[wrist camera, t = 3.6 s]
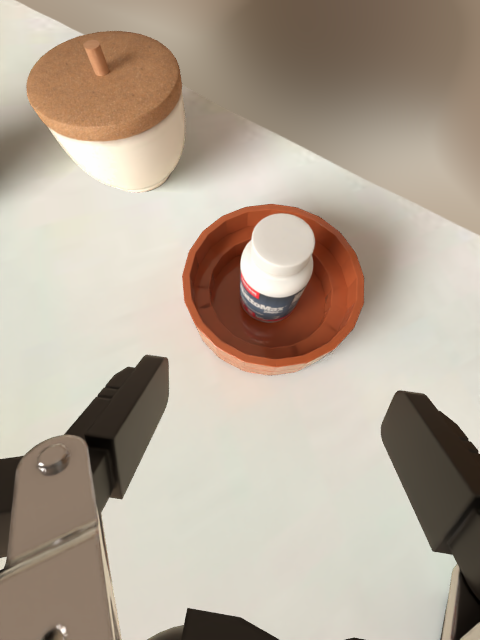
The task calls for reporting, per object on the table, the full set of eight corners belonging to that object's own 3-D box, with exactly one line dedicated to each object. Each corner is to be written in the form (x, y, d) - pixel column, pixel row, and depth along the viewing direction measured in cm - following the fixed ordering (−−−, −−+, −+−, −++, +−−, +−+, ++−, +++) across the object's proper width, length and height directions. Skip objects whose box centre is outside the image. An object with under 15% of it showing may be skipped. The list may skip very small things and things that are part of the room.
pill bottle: (229, 306, 25) (224, 250, 17) (256, 263, 26) (264, 192, 18) (280, 334, 24) (303, 290, 16) (306, 288, 26) (338, 225, 17)
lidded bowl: (187, 216, 29) (158, 104, 19) (70, 209, 29) (-22, 94, 19) (202, 132, 33) (185, 2, 23) (100, 126, 34) (37, -5, 23)
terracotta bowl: (163, 329, 25) (147, 311, 20) (236, 216, 29) (236, 182, 25) (307, 406, 23) (323, 403, 18) (364, 271, 27) (387, 244, 23)
